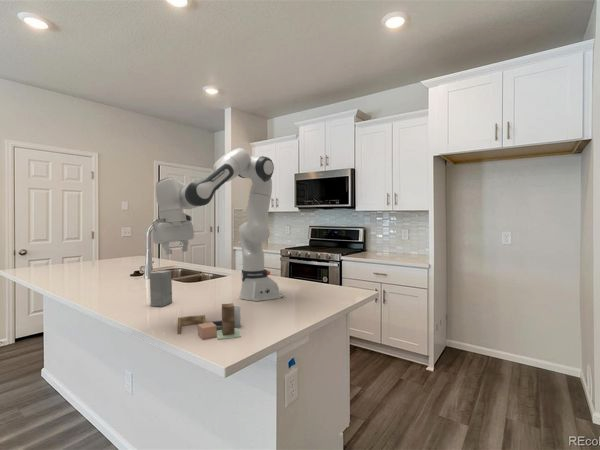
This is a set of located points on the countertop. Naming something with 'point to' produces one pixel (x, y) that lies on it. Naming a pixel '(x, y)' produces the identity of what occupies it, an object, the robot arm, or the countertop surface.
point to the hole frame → (217, 324)
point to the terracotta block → (207, 330)
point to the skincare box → (160, 288)
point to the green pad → (221, 336)
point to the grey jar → (237, 316)
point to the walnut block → (228, 319)
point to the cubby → (190, 321)
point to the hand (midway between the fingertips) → (177, 252)
